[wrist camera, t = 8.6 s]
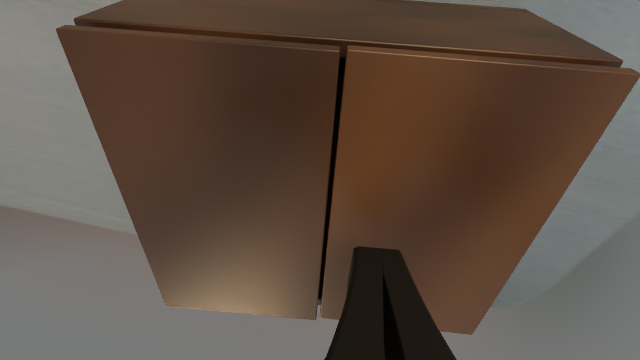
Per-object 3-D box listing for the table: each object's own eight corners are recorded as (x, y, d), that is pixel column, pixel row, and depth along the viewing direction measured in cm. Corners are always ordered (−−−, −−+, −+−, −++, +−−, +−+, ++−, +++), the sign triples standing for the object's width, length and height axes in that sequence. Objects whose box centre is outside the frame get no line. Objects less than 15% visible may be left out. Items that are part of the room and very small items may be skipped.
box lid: (631, 67, 8) (642, 73, 8) (470, 326, 15) (472, 335, 15) (347, 44, 8) (346, 49, 8) (320, 310, 16) (319, 318, 15)
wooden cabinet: (526, 8, 13) (647, 72, 8) (441, 226, 21) (473, 336, 15) (169, -18, 13) (50, 25, 8) (212, 206, 21) (164, 307, 15)
